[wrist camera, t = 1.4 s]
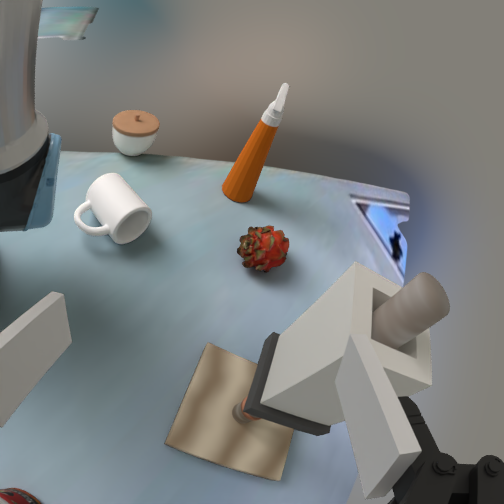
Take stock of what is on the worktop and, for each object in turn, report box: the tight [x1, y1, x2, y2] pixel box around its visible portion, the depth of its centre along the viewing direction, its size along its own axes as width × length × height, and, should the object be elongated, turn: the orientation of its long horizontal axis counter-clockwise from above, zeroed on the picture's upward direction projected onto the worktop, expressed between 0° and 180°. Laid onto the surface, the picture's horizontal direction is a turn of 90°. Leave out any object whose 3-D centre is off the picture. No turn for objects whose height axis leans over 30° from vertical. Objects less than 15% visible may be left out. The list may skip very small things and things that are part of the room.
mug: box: [74, 173, 152, 244], centre depth 48 cm, size 12×10×8 cm
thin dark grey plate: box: [243, 332, 331, 436], centre depth 28 cm, size 8×8×2 cm
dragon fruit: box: [237, 226, 289, 272], centre depth 57 cm, size 8×8×12 cm
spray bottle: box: [222, 83, 290, 202], centre depth 62 cm, size 7×11×26 cm, turn 171°
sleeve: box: [260, 261, 432, 426], centre depth 22 cm, size 7×7×12 cm
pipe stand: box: [165, 272, 450, 481], centre depth 28 cm, size 16×16×34 cm
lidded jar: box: [112, 110, 160, 156], centre depth 63 cm, size 11×11×9 cm
